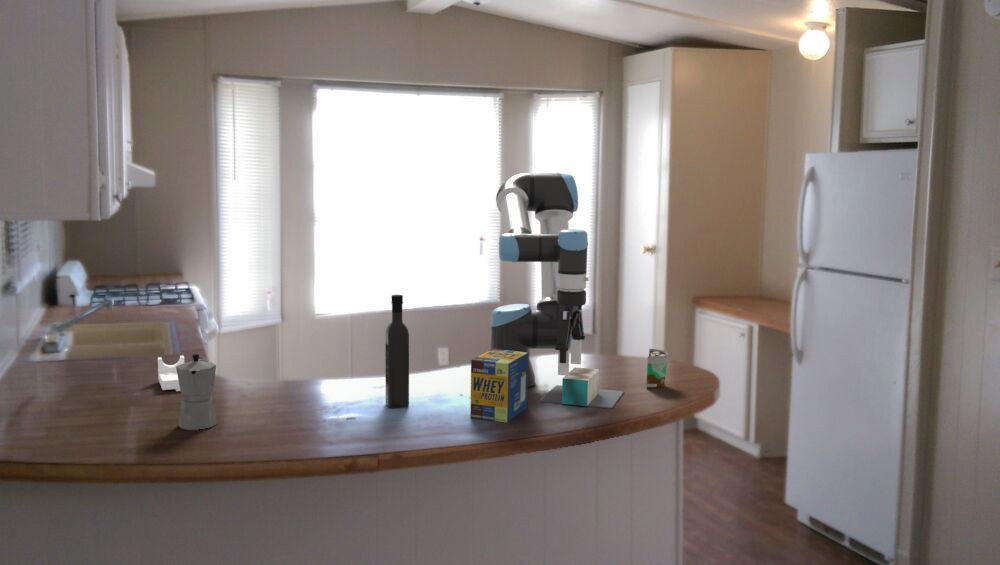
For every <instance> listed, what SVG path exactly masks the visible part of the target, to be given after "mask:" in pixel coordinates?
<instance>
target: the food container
mask: <svg viewBox="0 0 1000 565" xmlns="http://www.w3.org/2000/svg"><path fill="white" fill-rule="evenodd" d="M648 351H649V352H648V356H647V364H646V366H647V368H646V371H647V372H646V390H661V389H663V388H665V383H666V374H667V368H668V366H667V365H668V362H670V356H669V354H668V351H665V350H663V349H658V348H649V350H648Z"/></svg>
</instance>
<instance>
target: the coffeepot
mask: <svg viewBox="0 0 1000 565" xmlns="http://www.w3.org/2000/svg"><path fill="white" fill-rule="evenodd" d="M216 368H217V364H215V363H213V362H211V361H205V360H204V361H203V359H202V357H200V354H198V353H193V354H192V361H189V362H188V361H187V362H184V363H183V364H181V365H178V366H176V370H177V375H178V380H179V385H180V391H179V392H180V393H181V394H182V400H181V403H180V410H179V418H178V423H177V425H178V427H179V428H180V429H182V430H184V431H200V430H199V429H203V430H206V429H205V428H208V429H211V428H213V427H212V426H214V425H215V426H216V425H217V424H218V419H217V418H218V417H217V415H216V414H217V413H216V408H215V404H214V399H213V398H212V392H214V387H215V386H214V384H215V376H216V370H217V369H216ZM215 426H214V427H215ZM210 427H211V428H210Z"/></svg>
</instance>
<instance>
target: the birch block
mask: <svg viewBox="0 0 1000 565" xmlns="http://www.w3.org/2000/svg"><path fill="white" fill-rule="evenodd" d="M599 372H600V369H597V368H596V369H595V368H585V367H574V368H572V370H569V375H568V376H565V375H564V377H562V384H561V386H562V404H561V405H568V404H571V405H570V406H578V405H581V406H580V407H588V404H589V403H590V402H591V401H592V400H593V399H594V398H595V397H596V395H597V394H598V389H599V381H600V380H599V377H600V376H599V375H600V374H599Z"/></svg>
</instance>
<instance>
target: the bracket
mask: <svg viewBox="0 0 1000 565" xmlns="http://www.w3.org/2000/svg"><path fill="white" fill-rule="evenodd" d="M183 363H185V356H184V355H179V359H178V361H177V362H176V363H174V364H166V363H164V361H163V358H162V357H157V374H158V382H159V385H160V386H161V390H162V391H167V390H175V392H181V391H180V385H179V380H178V375H177V370H176V366H178V365H181V364H183Z"/></svg>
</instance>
